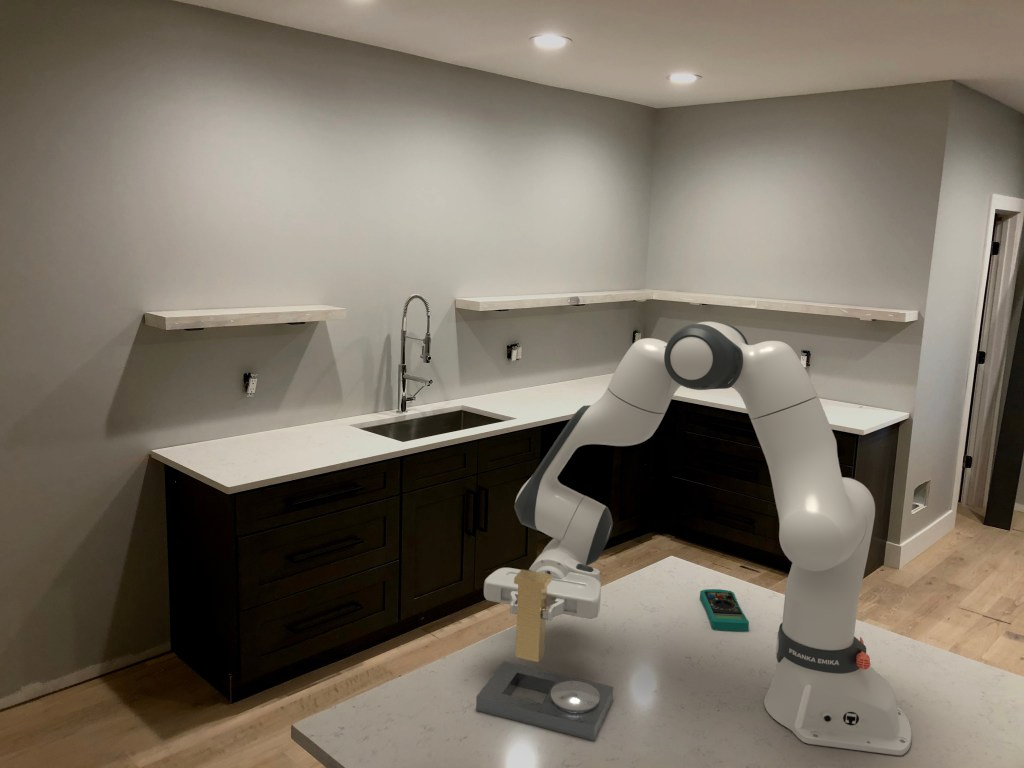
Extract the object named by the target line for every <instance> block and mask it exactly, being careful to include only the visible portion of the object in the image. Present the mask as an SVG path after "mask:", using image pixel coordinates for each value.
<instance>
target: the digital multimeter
mask: <svg viewBox="0 0 1024 768" xmlns="http://www.w3.org/2000/svg"><path fill="white" fill-rule="evenodd" d="M699 600H700V602H701V604H702V606H703V608H704V610H705V613H706V615H707V617H708V620H709V624H710V626H711V629H712V630H713V631H726V632H748V631H749V628H750V621H749V620H748V618H747V617H746V615H745V613H744V611H743V610H742V608H741V606H740V604H739V602H738V599H737V597H736V594H735V592H733V591H732V590H727V589H722V588H721V589H720V588H718V589H717V588H708V589H707V588H705V589H702V590H700V591H699Z"/></svg>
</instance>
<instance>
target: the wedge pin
mask: <svg viewBox="0 0 1024 768" xmlns="http://www.w3.org/2000/svg"><path fill="white" fill-rule="evenodd" d="M520 570H521V571H520V572H519V573H518V574H517V575H516V576H515V578H514V584H518V602H517V614H516V632H515V634H516V635H515V657H516V658H517V659H523V660H527V661H531V662H536V663H539V662H540V660H541V659H542V657H543V656H544V654H545V649H546V647H545V646H546V644H545V643H546V622H547V620H545V619H542V616H543V614H542V611H543V608H544V607H545V605H546V603H547V586H548V585H549V583H550V582H551V581H552V575H549V574H544V573H538V572H533V571H529V569H528V570H527V569H520Z"/></svg>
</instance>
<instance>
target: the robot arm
mask: <svg viewBox="0 0 1024 768" xmlns="http://www.w3.org/2000/svg"><path fill="white" fill-rule="evenodd" d="M809 375H810V374H808V372H807V370H806V368H805V367H804V365H803V363H802V361H801V359H800V358H799V357H798V355H797V353H796V352H795V351H794V349H793V348H792V347H791V346H790V345H789V344H788V343H786V342H783V341H780V340H779V341H778V340H765V341H761V342H758V343H755V344H749V342H748V339H747V338H746V337H745V335H744V334H743V333H742V331H741V330H739V329H738V328H737V327H735V326H733V325H731V324H729V323H724V322H716V321H701V322H698V323H697V322H696V323H693V324H689V325H686V326H683V327H682V328H679V329H678V330H677V331H676V332H674V334H673V335H672V336H671V337H670V338H669V340H668V342H666V341H664V340H662V339H658V338H653V337H652V338H651V337H650V338H649V337H647V338H640V339H638V340H636V341H635V342H633V343H632V344H631V346H630V347H629V348H628V349H627V351H626V353H625V354H624V356H623V357H622V359H621V361H620V362H619V364H618V366H617V367H616V369H615V371H614V373H613V375H612V377H611V379H610V382H609V384H608V386H607V388H606V390H605V392H604V393H603V395H602V396H601V397H600V398H599V399H597V401H596V402H595V403H592V404H591V405H583V406H581V407H580V408H579V409H578V410H577V411H576V412H575V413H574V414H572V415H573V416H571V418H570V419H569V420H568V422H567V423H566V425H565V427H563V429H562V431H561V433H560V434H559V435H558V436H557V438H556V440H555V441H553V444H552V446H551V447H550V448H549V449H548V452H547V453H546V455H545V456H544V457H543V459H542V461H541V462H540V464H539V465H538V466H537V468H536V469H535V471H534V472H533V474H532V475H531V477H530V478H529V479H528V480H527V481H526V482H525V483H524V484H523V485H522V486H521V488H520V490H519V492H518V493H517V495H516V498H515V501H514V504H513V508H514V511H515V513H516V516H517V518H518V520H519V522H520V524H521V525H523V526H526V527H528V528H530V529H532V530H536V531H537V532H538V531H539V532H542V533H544V534H545V535H547V536H548V537H551V538H552V539H551V540H550V541H549V542H548V543H547V545H546V546H545V547H544V549H543V550H542V551H541V553H540V554H539V555H538V556H537V557H536V559H534V562H533V563H532V564H531V566H530V567H529V569H528V571H533V572H538V573H544V574H549V575H552V581H551V582H550V583H549V585H548V586H547V603H546V605H545V607H544V608H543V611H542V614H543V616H542V619H545V620H546V621H552V620H553V618H554V617H558V616H561V615H566V616H567V615H568V616H571V617H577V618H585V619H589V620H592V619H596V618H598V616H599V615H600V612H601V611H600V610H601V609H600V608H601V598H602V597H601V596H602V593H601V592H602V584H601V571H600V570H599V569H598V568H594V567H592V566H589V565H591V564H594V563H595V562H597V561H598V560H599V558H600V556H601V554H602V553H603V551H604V549H605V548H606V546H607V543H608V541H609V539H610V537H611V534H612V531H613V526H614V522H613V518H612V514H611V511H610V509H609V507H608V506H606V505H605V504H603V503H600V502H599V501H597V500H595V499H594V498H591V497H589V496H587V495H584V494H582V493H579V492H578V491H576V490H574V489H572V488H570V487H568V486H567V485H564V484H563V483H561V482H560V481H559V479H558V476H560V474H561V472H562V471H563V469H564V468H565V466H566V465H567V463H568V461H570V459H571V457H572V455H573V454H574V453H575V452H576V450H577V449H578V448H580V447H582V446H586V445H602V446H603V445H605V446H612V447H613V446H614V447H629V446H634V445H639V444H641V443H643V442H645V441H648V439H650V438H651V437H653V435H654V433H655V432H656V430H657V429H658V428H659V426H660V424H661V422H662V420H663V418H664V416H665V414H666V412H667V410H668V408H669V405H670V403H671V401H672V399H673V396H674V395H675V393H676V392H677V390H679V388H680V387H681V386H682V387H684V388H686V389H691V390H697V391H707V390H720V389H721V390H722V389H723V390H725V389H726V390H727V389H731V388H732V389H734V390H735V391H736V392H737V393H738V394H739V396H740V397H741V399H742V401H743V404H744V406H745V408H746V411H747V413H748V416H749V419H750V421H751V424H752V426H753V429H754V431H755V434H756V437H757V440H758V442H759V445H760V446H761V450H762V453H763V455H764V457H765V460H766V464H767V466H768V471H769V475H770V480H771V485H772V489H773V490H772V491H773V495H774V500H775V501H774V502H775V505H776V510H777V514H778V523H779V531H778V538H779V544H780V548H781V549H782V551H783V553H784V555H785V556H786V557H787V559H788V560H789V561H790V562H791V567H790V571H789V573H788V576H787V580H786V584H785V591H784V602H783V613H782V621H781V623H780V624H779V628H778V631H777V637H776V644H775V645H776V646H775V655H776V656H775V657H776V663H775V664H776V665H775V668H774V672H773V675H772V679H771V683H770V685H769V688H768V691H767V693H766V694H765V696H764V699H763V704H764V707H765V709H766V711H767V713H768V714H769V715H770V716H771V718H773V719H774V720H775V721H776V722H778V723H779V724H781V725H782V726H783V727H786V728H787V729H789V730H790V731H792V733H793V734H794V735H795V736H796V737H797V738H798V739H799V740H800V741H801V742H803V743H804V744H805V743H806V744H808V745H816V746H823V747H832V748H838V749H845V750H846V749H848V750H855V751H862V752H870V753H876V754H877V753H879V754H885V755H892V756H903V755H905V754H906V753H907V752H908V751H909V750H910V748H911V746H912V745H911V744H912V729H911V723H910V722H909V721H910V720H909V719H908V717H907V715H906V714H905V713H904V711H903V710H902V709H901V708H900V707H899V706H898V701H897V698H896V697H897V696H896V695H895V692H894V690H893V688H892V686H891V683H890V682H889V681H888V679H886V678H885V677H883V676H882V675H881V674H880V673H879V672H878V671H877V670H875V669H874V668H873V667H872V666H871V658H870V655H868V654H867V646H866V645H865V643H864V640H863V638H862V636H860V637H859V639H858V638H857V637H856V636H855V633H856V632H855V631H856V624H857V615H858V608H859V607H858V605H859V600H860V599H859V598H860V592H861V587H862V583H863V579H864V575H865V569H866V565H867V561H868V557H869V556H868V555H869V550H870V545H871V542H872V541H871V539H872V534H873V528H874V522H875V517H876V503H875V500H874V496H873V495H872V493H871V491H870V490H869V488H868V487H866V485H864V484H863V483H862V482H860V481H858V480H856V479H854V478H852V477H843V476H842V472H841V467H840V461H839V457H838V444H837V439H836V437H835V434H834V432H833V430H832V427H831V425H830V422H829V420H828V417H827V415H826V411H825V409H824V407H823V405H822V403H821V400H820V397H819V396H818V393H817V390H816V388H815V385H814V384H813V381H812V380H811V378H810V376H809ZM521 570H522V569H518V568H512V567H501V568H500V567H499V568H498V569H496V570H494V571H493V572H492V573H491V574H489V575H488V576H487V577H486V578H485V580H484V583H483V596H484V598H485V600H487V601H489V602H495V603H501V604H506V605H509V614H513V615H517V602H518V584H514V578H515V576H516V575H517V574H518V573H519V572H520V571H521Z"/></svg>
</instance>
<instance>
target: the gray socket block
mask: <svg viewBox="0 0 1024 768" xmlns="http://www.w3.org/2000/svg"><path fill="white" fill-rule="evenodd" d="M516 687H521V688H524V689H528V690H534V691H538V692H540V693H546V694H547V695H546V696H545V698H544V699H543V701H542V703H541V702H537V701H534V700H529V699H525V698H520V697H517V696H513V695H512V693H513V692H514V690H515V689H516ZM614 687H615V686H611V685H607V684H603V683H599V682H595V681H589V680H586V679H581V678H577V677H574V676H567V675H564V674H560V673H556V672H552V671H547V670H543V669H539V668H534V667H529V666H525V665H522V664H516V663H514V662H507V661H504V660H503V662H502V663H501V664H500V665H499V666H498V667H497V669H496V670H495V672H494V673H493V674H492V676H491V677H490V678H489V680H488V681H487V682H486V683H485V685H484V686H483V687H482V689H480V691H479V692H478V693H477V695H476V697H475V699H476V700H475V701H476V703H475V704H476V705H475V706H476V707H475V711H476V712H480V713H484V714H488V715H491V716H495V717H499V718H504V719H507V720H511V721H515V722H519V723H523V724H526V725H530V726H534V727H538V728H543V729H546V730H550V731H553V732H554V731H555V732H556V733H557V732H558V733H561V734H566V735H569V736H573V737H577V738H581V739H585V740H588V741H593V742H595V740H596V738H597V735H598V733H599V731H600V729H601V726H602V724H603V722H604V721H605V718H606V716H607V715H608V712H609V710H610V707H611V705H612V703H613V701H614V691H615V690H614ZM512 691H513V692H512Z"/></svg>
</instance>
